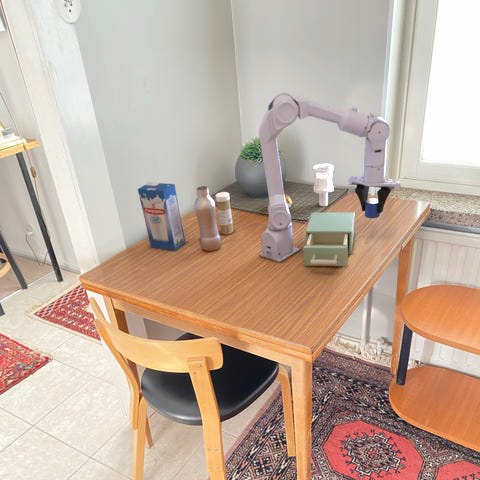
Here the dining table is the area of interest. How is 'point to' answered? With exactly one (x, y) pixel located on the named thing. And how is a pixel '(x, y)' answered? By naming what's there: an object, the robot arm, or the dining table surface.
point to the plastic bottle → (206, 219)
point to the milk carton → (162, 215)
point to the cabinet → (332, 224)
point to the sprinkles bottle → (224, 212)
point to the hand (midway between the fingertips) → (372, 211)
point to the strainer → (323, 182)
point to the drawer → (326, 249)
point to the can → (371, 208)
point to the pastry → (288, 200)
